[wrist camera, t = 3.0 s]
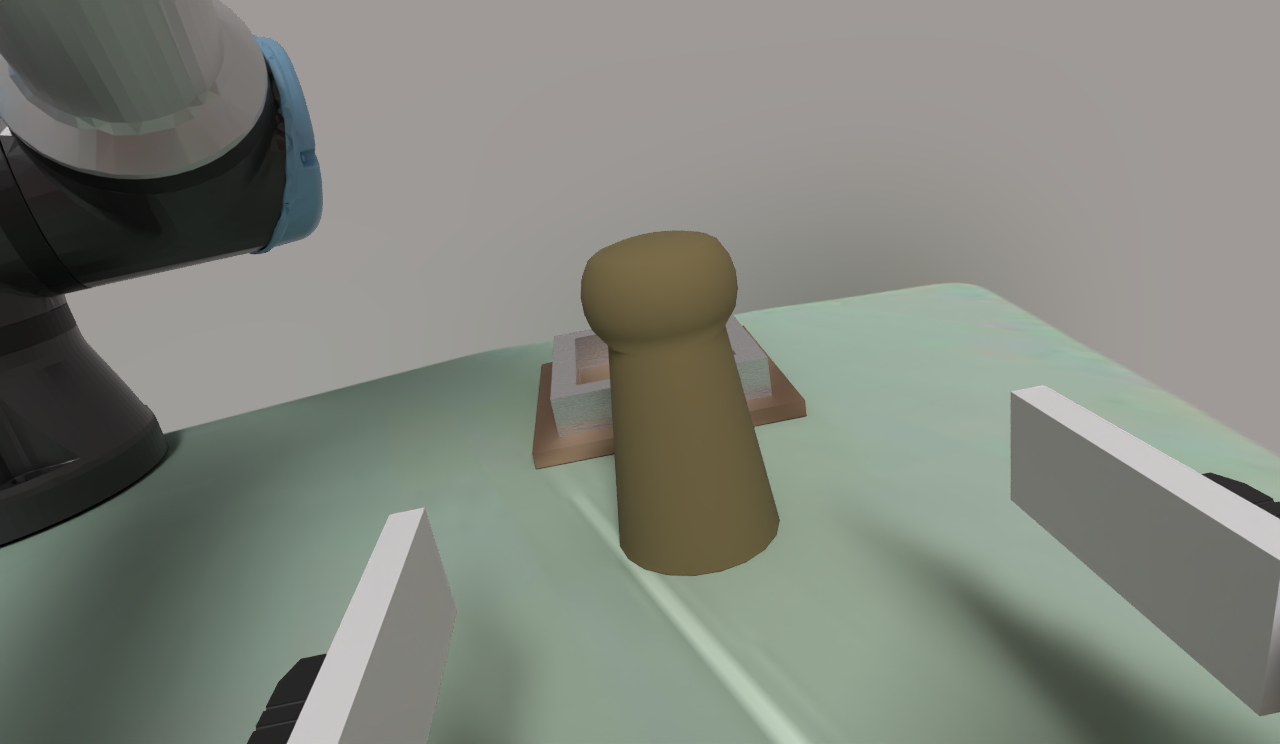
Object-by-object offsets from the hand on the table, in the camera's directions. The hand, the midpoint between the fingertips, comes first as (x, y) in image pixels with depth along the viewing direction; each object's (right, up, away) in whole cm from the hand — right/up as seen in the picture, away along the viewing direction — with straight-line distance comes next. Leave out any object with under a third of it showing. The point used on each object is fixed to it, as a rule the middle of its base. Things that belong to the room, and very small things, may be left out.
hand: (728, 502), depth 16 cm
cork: (0, -3, +11) cm, 12 cm away
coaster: (-1, +2, +25) cm, 25 cm away
